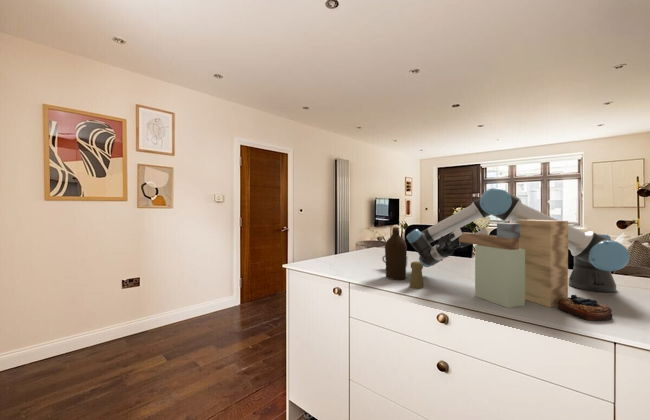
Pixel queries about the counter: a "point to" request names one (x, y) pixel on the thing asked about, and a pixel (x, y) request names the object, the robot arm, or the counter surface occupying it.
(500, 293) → the sage green upright block
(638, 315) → the counter surface
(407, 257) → the teacup
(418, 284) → the cork
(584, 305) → the pastry
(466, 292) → the counter surface
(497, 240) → the beam
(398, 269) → the olive oil
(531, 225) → the oak stand
